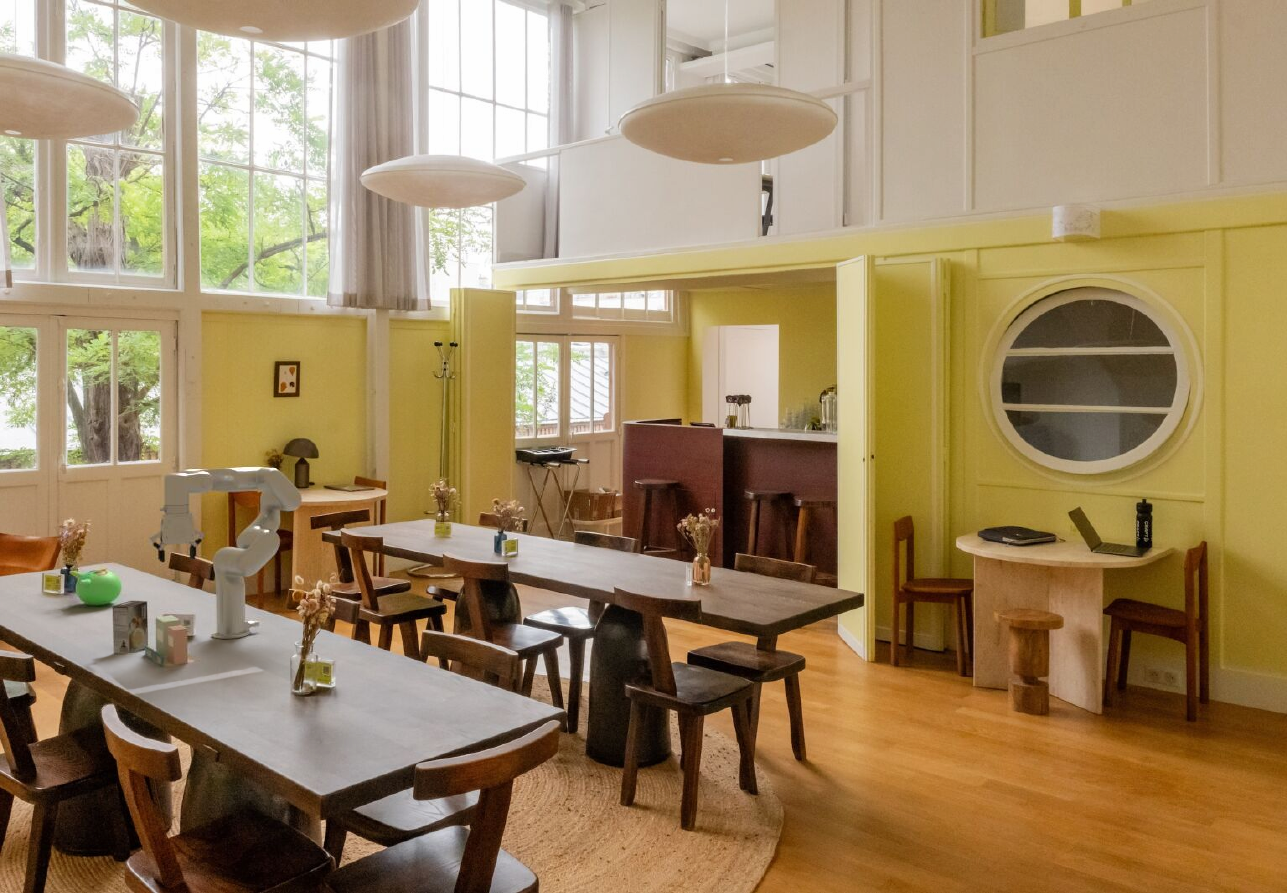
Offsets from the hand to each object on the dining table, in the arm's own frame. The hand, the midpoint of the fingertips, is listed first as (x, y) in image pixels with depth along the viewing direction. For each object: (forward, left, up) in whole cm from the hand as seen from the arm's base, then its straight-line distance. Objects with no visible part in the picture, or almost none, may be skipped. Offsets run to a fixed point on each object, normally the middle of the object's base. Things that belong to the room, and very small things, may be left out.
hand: (177, 560), depth 333 cm
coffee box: (+13, -7, -31) cm, 34 cm away
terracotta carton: (+7, +22, -29) cm, 37 cm away
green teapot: (+4, -87, -31) cm, 92 cm away
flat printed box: (+7, +16, -30) cm, 35 cm away
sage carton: (+7, +12, -29) cm, 32 cm away
